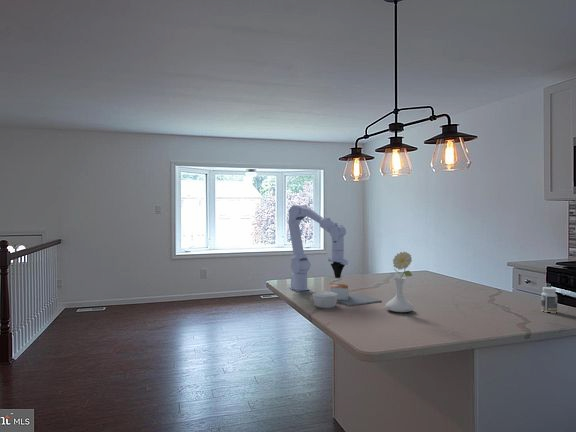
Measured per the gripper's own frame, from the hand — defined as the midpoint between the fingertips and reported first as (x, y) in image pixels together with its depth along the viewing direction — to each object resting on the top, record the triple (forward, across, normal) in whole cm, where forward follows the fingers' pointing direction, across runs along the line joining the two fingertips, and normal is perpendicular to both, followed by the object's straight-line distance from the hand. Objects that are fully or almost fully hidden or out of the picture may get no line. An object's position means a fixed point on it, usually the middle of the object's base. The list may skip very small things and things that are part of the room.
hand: (337, 277), depth 198 cm
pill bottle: (+9, -65, -61) cm, 90 cm away
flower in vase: (+9, -38, -6) cm, 39 cm away
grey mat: (+8, -12, -1) cm, 15 cm away
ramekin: (+9, -16, +17) cm, 25 cm away
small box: (+5, -3, +1) cm, 6 cm away
